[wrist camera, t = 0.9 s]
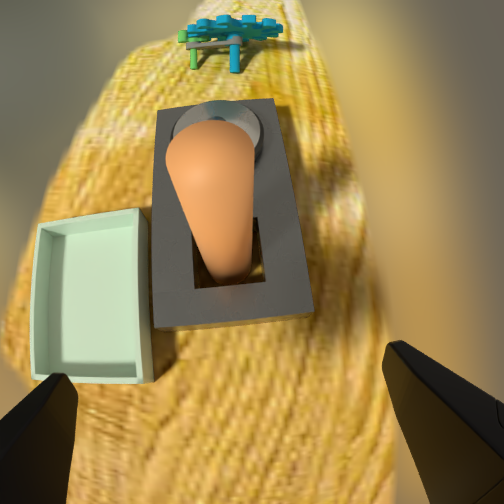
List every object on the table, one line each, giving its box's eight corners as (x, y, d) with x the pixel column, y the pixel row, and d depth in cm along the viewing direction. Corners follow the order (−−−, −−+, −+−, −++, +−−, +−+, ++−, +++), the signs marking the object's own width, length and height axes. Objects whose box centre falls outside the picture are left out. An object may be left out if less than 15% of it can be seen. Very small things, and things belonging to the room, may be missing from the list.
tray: (154, 381, 20) (143, 383, 18) (49, 379, 20) (31, 379, 18) (148, 222, 24) (138, 207, 22) (52, 235, 24) (38, 224, 22)
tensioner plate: (307, 317, 22) (321, 305, 18) (164, 331, 22) (144, 323, 17) (271, 117, 28) (274, 80, 24) (163, 128, 28) (152, 93, 23)
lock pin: (253, 282, 23) (259, 185, 11) (208, 287, 23) (164, 196, 11) (248, 240, 24) (249, 116, 12) (205, 245, 24) (166, 125, 12)
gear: (286, 30, 31) (277, 5, 22) (286, 76, 34) (278, 64, 25) (195, 36, 33) (161, 18, 24) (195, 79, 35) (160, 73, 27)
